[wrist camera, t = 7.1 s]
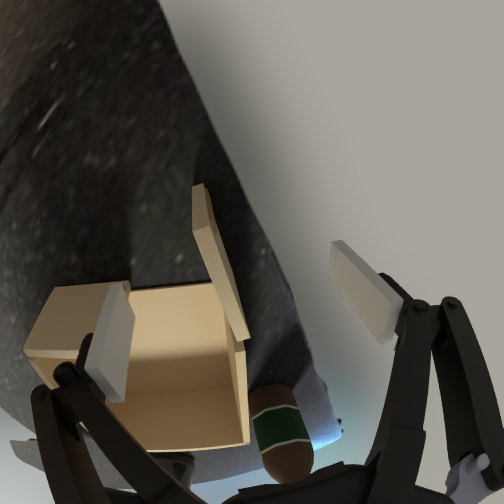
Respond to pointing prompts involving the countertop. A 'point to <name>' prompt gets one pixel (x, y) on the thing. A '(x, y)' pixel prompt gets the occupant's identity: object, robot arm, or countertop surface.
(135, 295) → the carton
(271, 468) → the beer bottle
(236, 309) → the flap
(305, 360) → the countertop surface
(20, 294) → the countertop surface
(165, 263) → the countertop surface
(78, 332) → the flap
